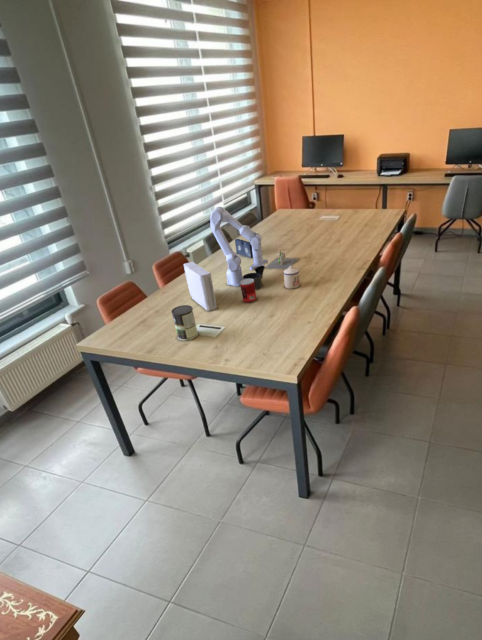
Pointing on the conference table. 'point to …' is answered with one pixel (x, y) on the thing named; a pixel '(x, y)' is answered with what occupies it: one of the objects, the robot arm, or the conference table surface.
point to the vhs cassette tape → (243, 248)
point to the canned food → (248, 290)
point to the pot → (256, 279)
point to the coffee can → (184, 322)
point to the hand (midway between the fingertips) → (260, 278)
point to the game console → (200, 286)
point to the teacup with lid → (291, 277)
